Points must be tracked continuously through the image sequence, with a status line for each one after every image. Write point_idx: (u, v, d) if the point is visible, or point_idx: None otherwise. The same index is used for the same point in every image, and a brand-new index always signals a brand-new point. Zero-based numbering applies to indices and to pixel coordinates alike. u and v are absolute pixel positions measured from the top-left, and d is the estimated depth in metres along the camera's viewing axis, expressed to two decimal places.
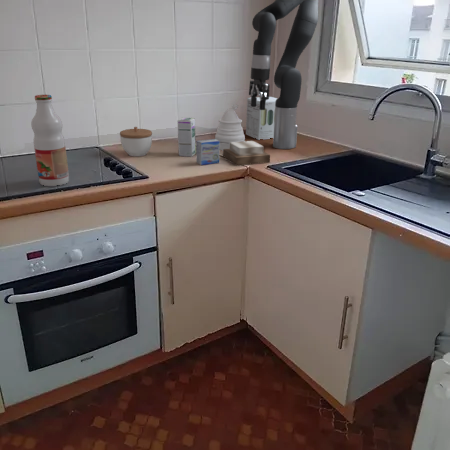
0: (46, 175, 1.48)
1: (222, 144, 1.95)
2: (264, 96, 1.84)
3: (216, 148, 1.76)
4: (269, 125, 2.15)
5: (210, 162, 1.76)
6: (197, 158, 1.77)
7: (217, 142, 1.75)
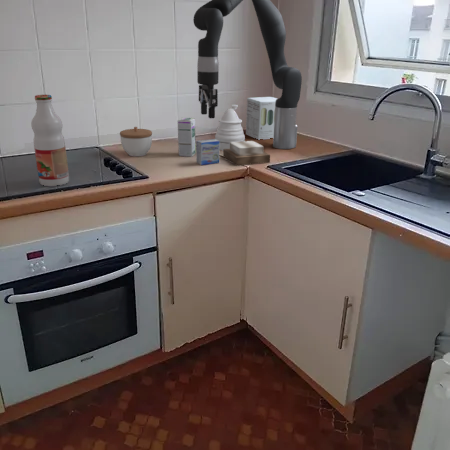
0: (46, 175, 1.48)
1: (222, 144, 1.95)
2: (212, 103, 1.63)
3: (216, 148, 1.76)
4: (269, 125, 2.15)
5: (210, 162, 1.76)
6: (197, 158, 1.77)
7: (217, 142, 1.75)
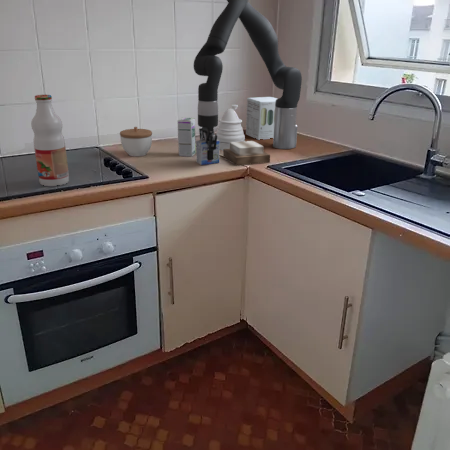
0: (46, 175, 1.48)
1: (222, 144, 1.95)
2: (210, 146, 1.71)
3: (216, 148, 1.76)
4: (269, 125, 2.15)
5: (210, 162, 1.76)
6: (197, 158, 1.77)
7: (217, 142, 1.75)
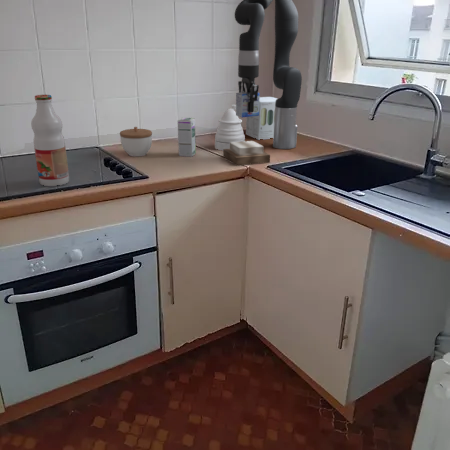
0: (46, 175, 1.48)
1: (222, 144, 1.95)
2: (252, 97, 1.69)
3: None
4: (269, 125, 2.15)
5: (250, 114, 1.75)
6: (237, 111, 1.76)
7: None
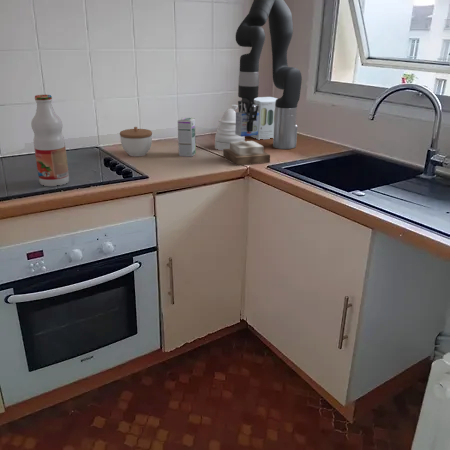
0: (46, 175, 1.48)
1: (222, 144, 1.95)
2: None
3: (256, 120, 1.77)
4: (269, 125, 2.15)
5: (249, 134, 1.78)
6: (236, 130, 1.78)
7: (257, 114, 1.76)
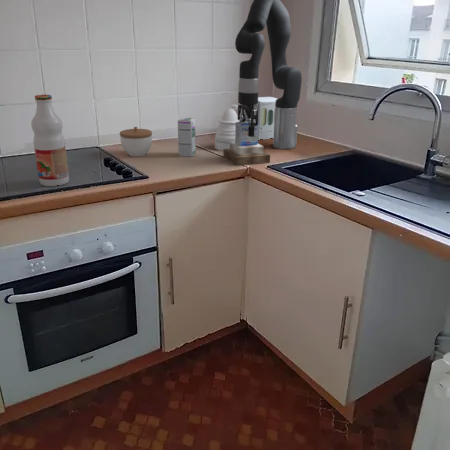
0: (46, 175, 1.48)
1: (222, 144, 1.95)
2: (252, 122, 1.72)
3: (255, 130, 1.79)
4: (269, 125, 2.15)
5: (249, 143, 1.80)
6: (236, 139, 1.80)
7: None
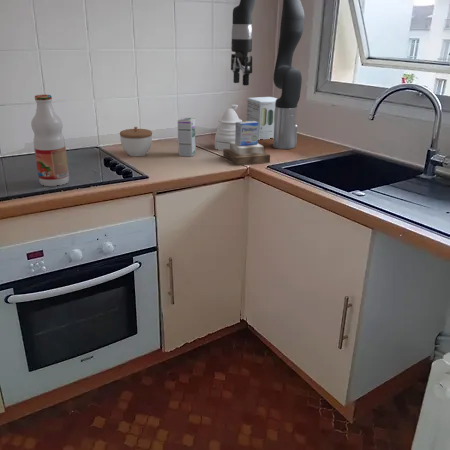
0: (46, 175, 1.48)
1: (222, 144, 1.95)
2: (247, 69, 1.67)
3: (255, 130, 1.79)
4: (269, 125, 2.15)
5: (249, 143, 1.80)
6: (236, 139, 1.80)
7: (256, 123, 1.78)
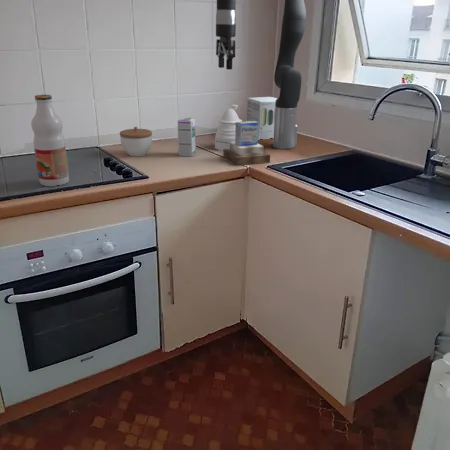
0: (46, 175, 1.48)
1: (222, 144, 1.95)
2: (230, 54, 1.73)
3: (255, 130, 1.79)
4: (269, 125, 2.15)
5: (249, 143, 1.80)
6: (236, 139, 1.80)
7: (256, 123, 1.78)
